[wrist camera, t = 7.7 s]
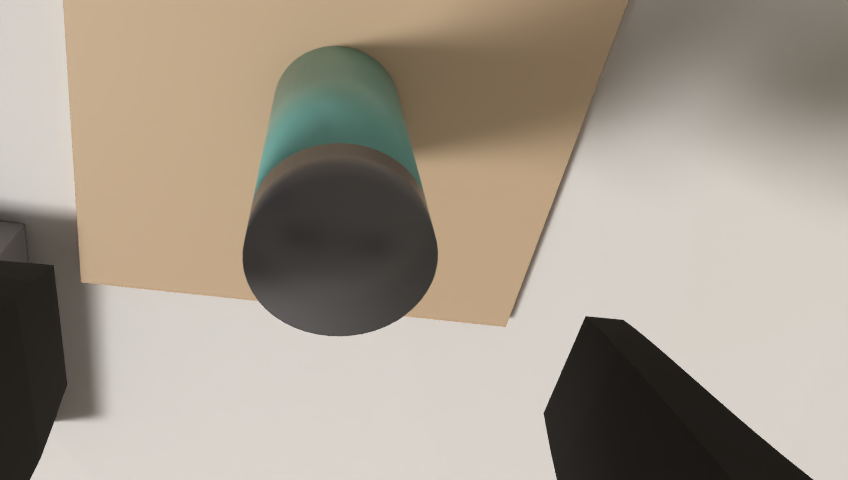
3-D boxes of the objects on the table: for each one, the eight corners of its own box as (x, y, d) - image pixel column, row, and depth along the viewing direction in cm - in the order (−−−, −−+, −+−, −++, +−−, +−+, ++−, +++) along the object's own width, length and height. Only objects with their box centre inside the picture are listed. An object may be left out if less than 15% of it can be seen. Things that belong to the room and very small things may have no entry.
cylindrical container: (268, 155, 17) (235, 328, 11) (280, 34, 15) (250, 161, 9) (386, 172, 18) (415, 343, 12) (410, 58, 16) (458, 190, 10)
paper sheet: (85, 274, 19) (81, 282, 18) (53, -279, 12) (45, -282, 12) (503, 318, 21) (505, 327, 21) (662, -110, 15) (669, -109, 14)
